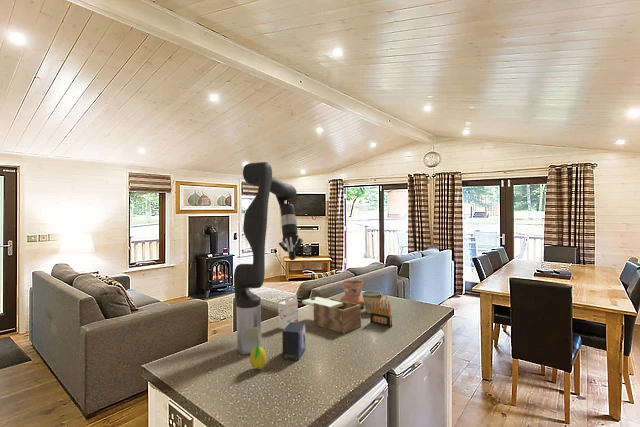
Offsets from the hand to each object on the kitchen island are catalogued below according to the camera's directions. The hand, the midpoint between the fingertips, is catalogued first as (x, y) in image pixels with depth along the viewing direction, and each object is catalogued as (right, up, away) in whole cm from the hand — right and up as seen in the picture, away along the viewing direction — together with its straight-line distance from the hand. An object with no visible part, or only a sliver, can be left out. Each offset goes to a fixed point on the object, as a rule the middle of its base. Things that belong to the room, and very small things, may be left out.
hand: (292, 259), depth 160 cm
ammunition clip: (+42, -30, -4) cm, 52 cm away
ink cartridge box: (-2, -31, -4) cm, 31 cm away
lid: (+14, -22, +3) cm, 27 cm away
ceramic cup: (+42, -30, +17) cm, 55 cm away
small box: (+4, -31, -36) cm, 47 cm away
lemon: (-8, -31, -47) cm, 57 cm away
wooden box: (+21, -30, -3) cm, 37 cm away
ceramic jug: (+32, -31, +28) cm, 53 cm away
